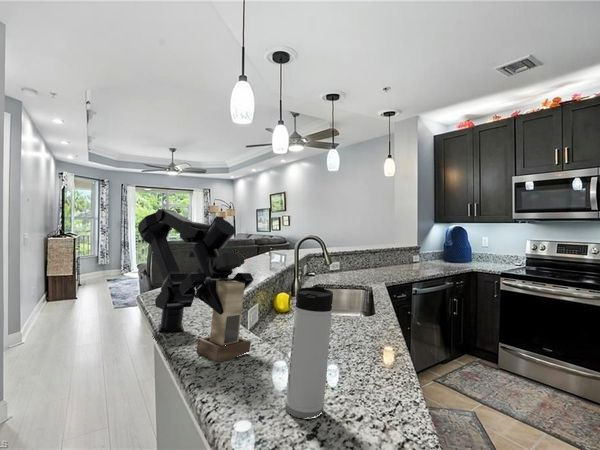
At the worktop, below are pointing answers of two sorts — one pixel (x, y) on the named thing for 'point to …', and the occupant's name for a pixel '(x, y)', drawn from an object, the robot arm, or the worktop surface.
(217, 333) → the block
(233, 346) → the post socket
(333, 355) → the worktop surface
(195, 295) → the robot arm
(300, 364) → the travel mug
